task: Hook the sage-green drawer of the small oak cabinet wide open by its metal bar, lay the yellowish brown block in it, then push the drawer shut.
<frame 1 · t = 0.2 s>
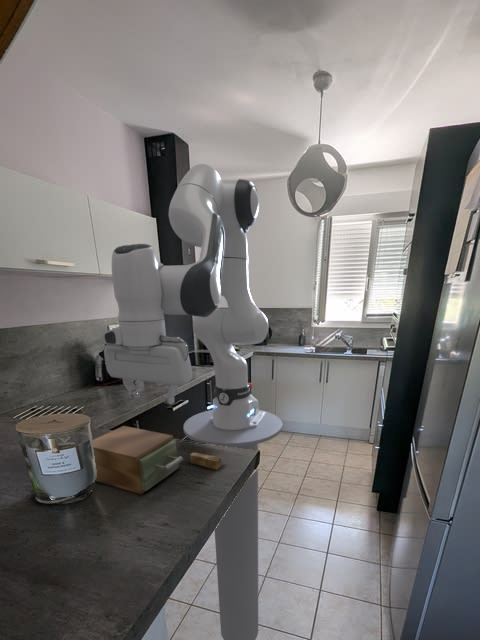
hand: (151, 400, 77), 21 cm above the counter, tool pointing down, fingers open, 8 cm apart
drawer: (143, 460, 88), point 5 cm above the counter, slide at 0.0 cm
lidded glass candle: (60, 492, 84), on the counter
yellowish brown block: (205, 464, 95), on the counter
cabinet: (134, 474, 91), on the counter
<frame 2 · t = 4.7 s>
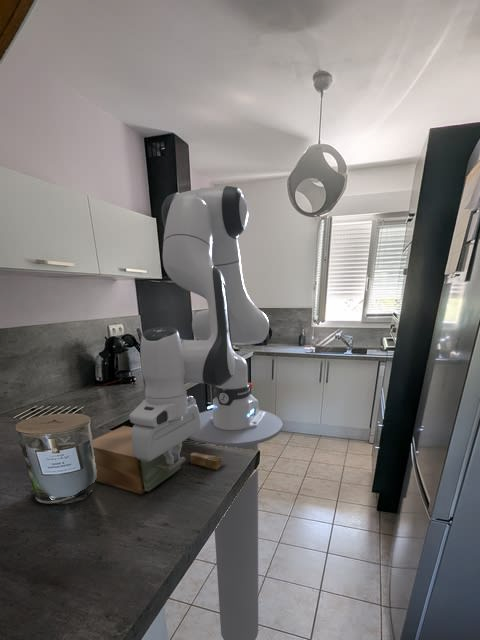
hand: (173, 462, 83), 6 cm above the counter, tool pointing down, fingers closed, pressing on drawer
drawer: (145, 460, 88), point 5 cm above the counter, slide at 0.7 cm, touching gripper
everything else where it was.
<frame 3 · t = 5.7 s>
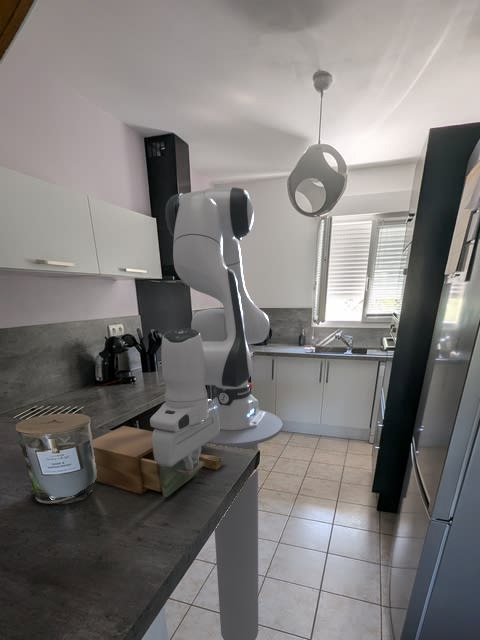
hand: (192, 467, 81), 6 cm above the counter, tool pointing down, fingers closed, pressing on drawer
drawer: (162, 465, 85), point 5 cm above the counter, slide at 6.0 cm, touching gripper
everything else where it was.
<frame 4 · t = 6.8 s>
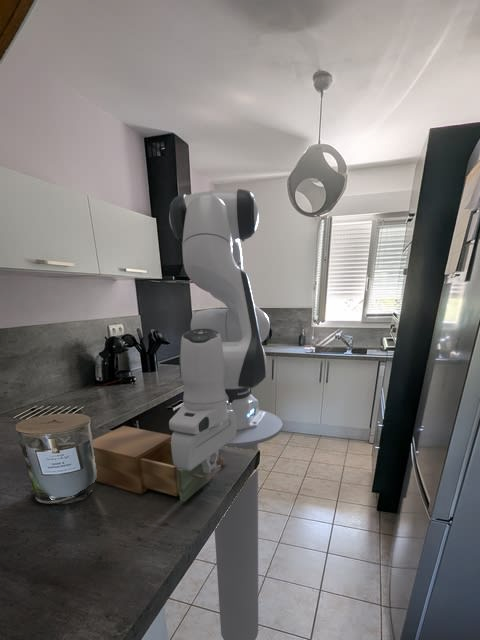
hand: (209, 470, 79), 6 cm above the counter, tool pointing down, fingers closed, pressing on drawer
drawer: (178, 468, 83), point 5 cm above the counter, slide at 10.6 cm, touching gripper
everything else where it was.
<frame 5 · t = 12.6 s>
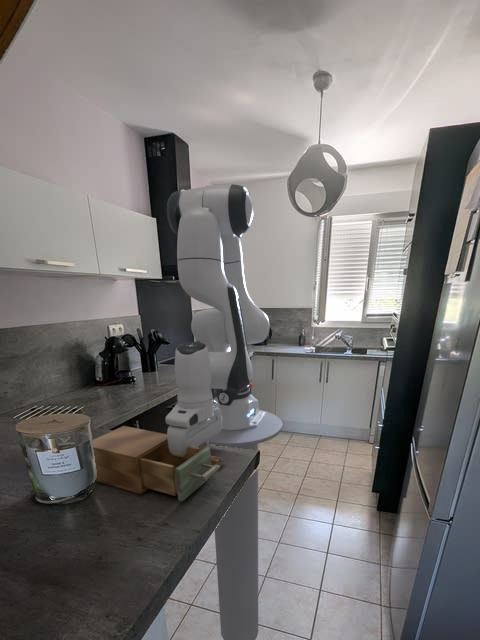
hand: (199, 458, 95), 2 cm above the counter, tool pointing down, fingers closed on yellowish brown block, 2 cm apart
drawer: (176, 468, 84), point 5 cm above the counter, slide at 10.1 cm
yellowish brown block: (205, 464, 95), on the counter, touching gripper
everything else where it was.
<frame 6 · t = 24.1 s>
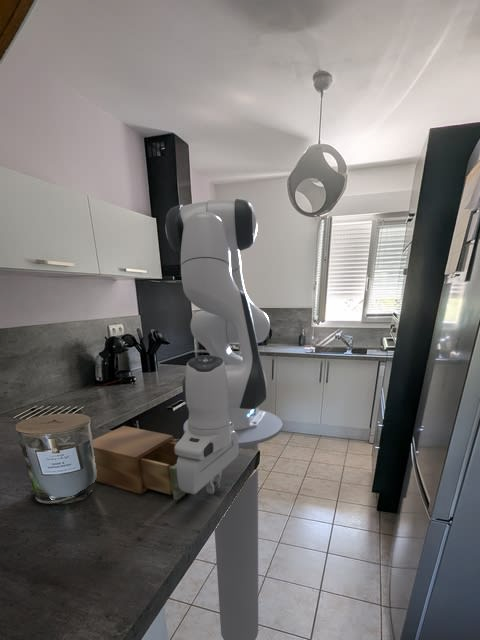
hand: (213, 490, 81), 1 cm above the counter, tool pointing down, fingers closed
drawer: (172, 467, 84), point 5 cm above the counter, slide at 8.9 cm, touching yellowish brown block, gripper
yellowish brown block: (172, 477, 86), point 2 cm above the counter, touching drawer
everything else where it was.
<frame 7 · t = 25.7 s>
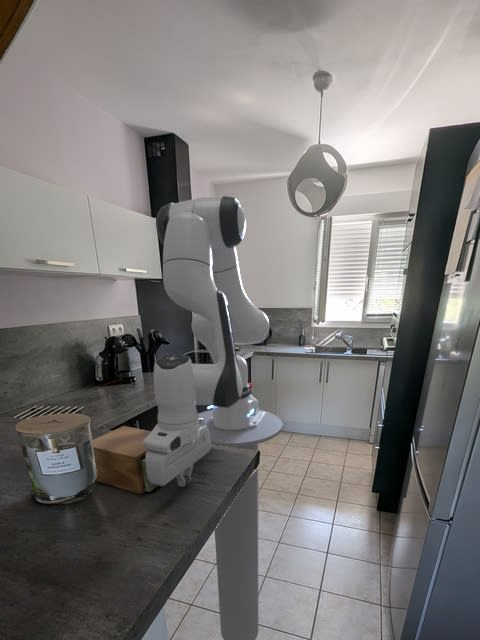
hand: (184, 483, 84), 1 cm above the counter, tool pointing down, fingers closed, pressing on drawer
drawer: (146, 461, 87), point 5 cm above the counter, slide at 0.9 cm, touching yellowish brown block, gripper
yellowish brown block: (146, 470, 89), point 2 cm above the counter, touching drawer
everything else where it was.
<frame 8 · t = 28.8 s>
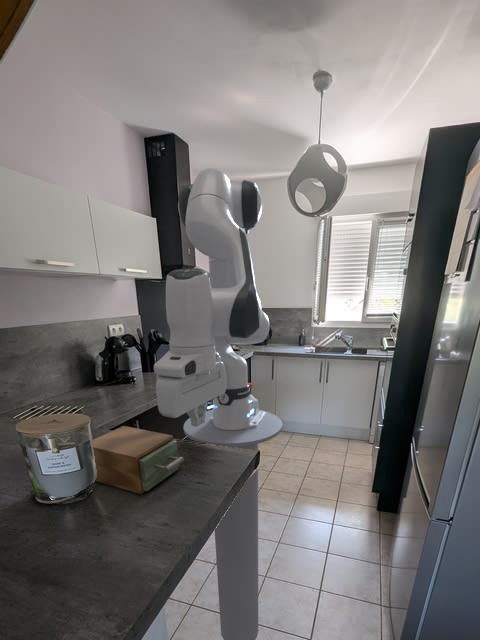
hand: (198, 424, 76), 17 cm above the counter, tool pointing down, fingers closed
drawer: (144, 460, 88), point 5 cm above the counter, slide at 0.2 cm, touching yellowish brown block
everything else where it was.
at the end: drawer pulled out 10.6 cm at the most during the clip, back to 0.2 cm at the end; yellowish brown block inside the target area in the cabinet (3.5 cm from its centre), point 2.0 cm above the cabinet's base; drawer slide at 0.2 cm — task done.
